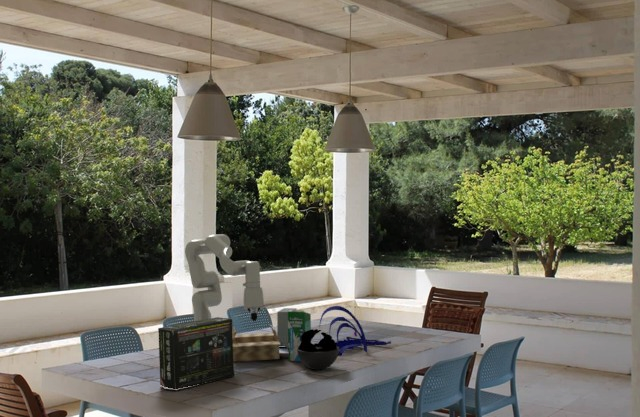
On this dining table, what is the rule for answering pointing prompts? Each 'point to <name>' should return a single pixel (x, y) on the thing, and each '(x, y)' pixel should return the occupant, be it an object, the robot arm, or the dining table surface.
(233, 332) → the left flap
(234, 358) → the carton
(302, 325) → the milk carton
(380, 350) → the dining table surface
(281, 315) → the hard drive box
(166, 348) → the router box
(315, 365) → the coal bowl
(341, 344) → the sculpture
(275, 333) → the right flap
